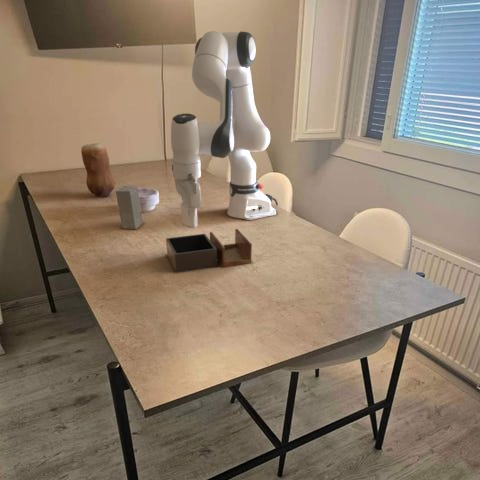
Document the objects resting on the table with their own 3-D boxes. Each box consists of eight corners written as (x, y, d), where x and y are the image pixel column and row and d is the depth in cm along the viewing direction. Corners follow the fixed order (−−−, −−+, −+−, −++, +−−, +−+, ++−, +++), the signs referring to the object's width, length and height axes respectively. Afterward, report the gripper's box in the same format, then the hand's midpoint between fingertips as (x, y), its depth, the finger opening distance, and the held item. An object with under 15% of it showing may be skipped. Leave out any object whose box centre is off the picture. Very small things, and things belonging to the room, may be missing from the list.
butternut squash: (94, 191, 219) (85, 140, 206) (120, 192, 219) (112, 140, 205) (85, 200, 208) (74, 146, 194) (112, 201, 207) (104, 146, 194)
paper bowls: (147, 201, 208) (146, 185, 203) (166, 209, 199) (164, 192, 194) (120, 208, 199) (117, 191, 194) (138, 216, 190) (136, 199, 185)
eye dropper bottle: (186, 229, 143) (184, 193, 136) (181, 223, 147) (179, 189, 141) (198, 227, 144) (197, 192, 138) (193, 222, 149) (191, 187, 142)
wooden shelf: (237, 246, 164) (237, 228, 160) (251, 262, 152) (252, 243, 148) (209, 250, 161) (209, 231, 157) (222, 267, 149) (221, 247, 145)
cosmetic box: (136, 230, 176) (131, 192, 168) (120, 228, 178) (114, 190, 169) (144, 223, 183) (139, 186, 175) (128, 221, 185) (123, 184, 176)
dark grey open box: (205, 250, 161) (204, 233, 157) (217, 266, 149) (216, 248, 146) (167, 255, 156) (165, 238, 153) (176, 272, 145) (174, 254, 141)
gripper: (205, 178, 129) (206, 222, 136) (188, 162, 145) (190, 202, 152) (185, 180, 127) (187, 224, 134) (170, 164, 143) (173, 204, 150)
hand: (189, 212), depth 143 cm, fingers closed on eye dropper bottle, 5 cm apart
